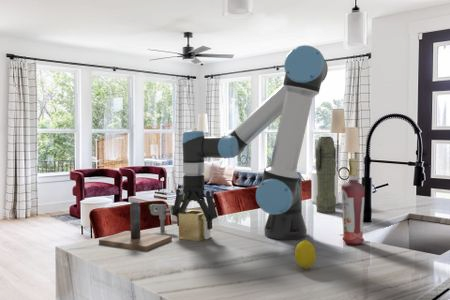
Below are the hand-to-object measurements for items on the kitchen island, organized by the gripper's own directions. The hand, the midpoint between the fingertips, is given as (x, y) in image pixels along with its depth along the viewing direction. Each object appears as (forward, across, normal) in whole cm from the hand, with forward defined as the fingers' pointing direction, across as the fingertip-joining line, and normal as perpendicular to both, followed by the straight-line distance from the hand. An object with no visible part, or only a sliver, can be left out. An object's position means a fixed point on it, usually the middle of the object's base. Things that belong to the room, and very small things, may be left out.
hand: (194, 236), depth 145 cm
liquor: (0, -52, -15) cm, 54 cm away
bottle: (0, -25, -90) cm, 93 cm away
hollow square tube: (0, 0, 0) cm, 0 cm away
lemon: (0, -45, +17) cm, 48 cm away
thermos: (0, -31, -67) cm, 74 cm away
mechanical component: (0, +17, -4) cm, 17 cm away
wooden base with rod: (0, +15, +14) cm, 21 cm away
